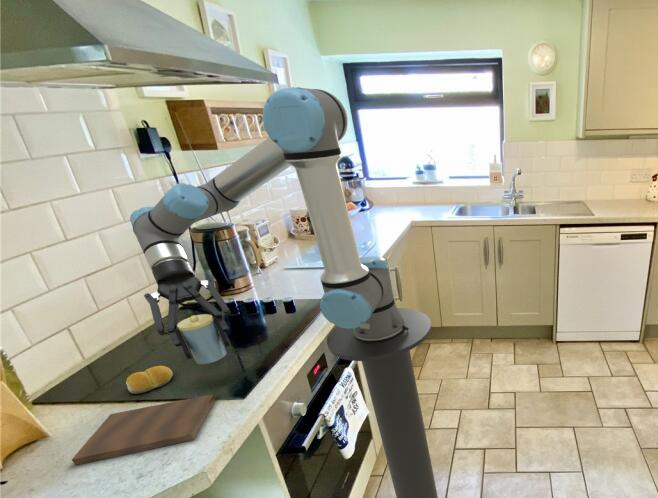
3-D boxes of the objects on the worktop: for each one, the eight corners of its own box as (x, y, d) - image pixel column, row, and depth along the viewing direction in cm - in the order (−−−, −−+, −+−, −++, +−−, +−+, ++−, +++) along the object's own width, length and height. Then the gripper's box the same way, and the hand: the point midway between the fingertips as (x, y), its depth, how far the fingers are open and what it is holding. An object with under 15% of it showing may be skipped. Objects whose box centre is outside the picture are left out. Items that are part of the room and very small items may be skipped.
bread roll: (178, 380, 104) (171, 367, 102) (133, 398, 98) (125, 385, 96) (168, 369, 109) (162, 356, 107) (125, 386, 103) (118, 372, 101)
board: (215, 399, 96) (213, 394, 96) (193, 439, 84) (190, 434, 84) (114, 419, 92) (110, 413, 91) (75, 465, 80) (71, 459, 79)
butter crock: (231, 347, 104) (214, 307, 98) (223, 361, 98) (204, 319, 93) (200, 352, 102) (181, 312, 97) (190, 367, 96) (169, 325, 91)
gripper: (220, 264, 108) (256, 340, 104) (123, 286, 97) (159, 372, 93) (216, 248, 102) (254, 328, 98) (112, 270, 91) (150, 361, 87)
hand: (208, 349), depth 96 cm, fingers closed on butter crock, 7 cm apart
